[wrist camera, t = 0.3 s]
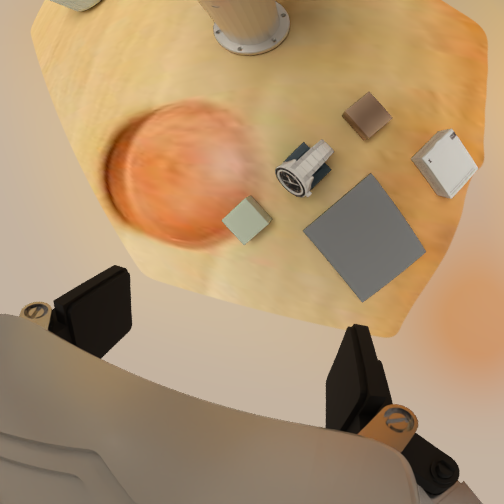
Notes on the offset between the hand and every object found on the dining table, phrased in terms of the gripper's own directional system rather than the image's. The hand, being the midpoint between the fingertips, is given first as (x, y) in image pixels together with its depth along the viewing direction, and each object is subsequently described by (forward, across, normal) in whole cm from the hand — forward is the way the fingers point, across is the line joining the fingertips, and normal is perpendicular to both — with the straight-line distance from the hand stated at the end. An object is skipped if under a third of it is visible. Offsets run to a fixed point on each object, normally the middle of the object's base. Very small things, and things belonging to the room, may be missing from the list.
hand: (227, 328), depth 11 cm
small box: (+35, -23, -13) cm, 44 cm away
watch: (+34, -2, -7) cm, 35 cm away
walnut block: (+34, -9, -16) cm, 39 cm away
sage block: (+34, +6, +3) cm, 35 cm away
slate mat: (+34, -13, +2) cm, 37 cm away
